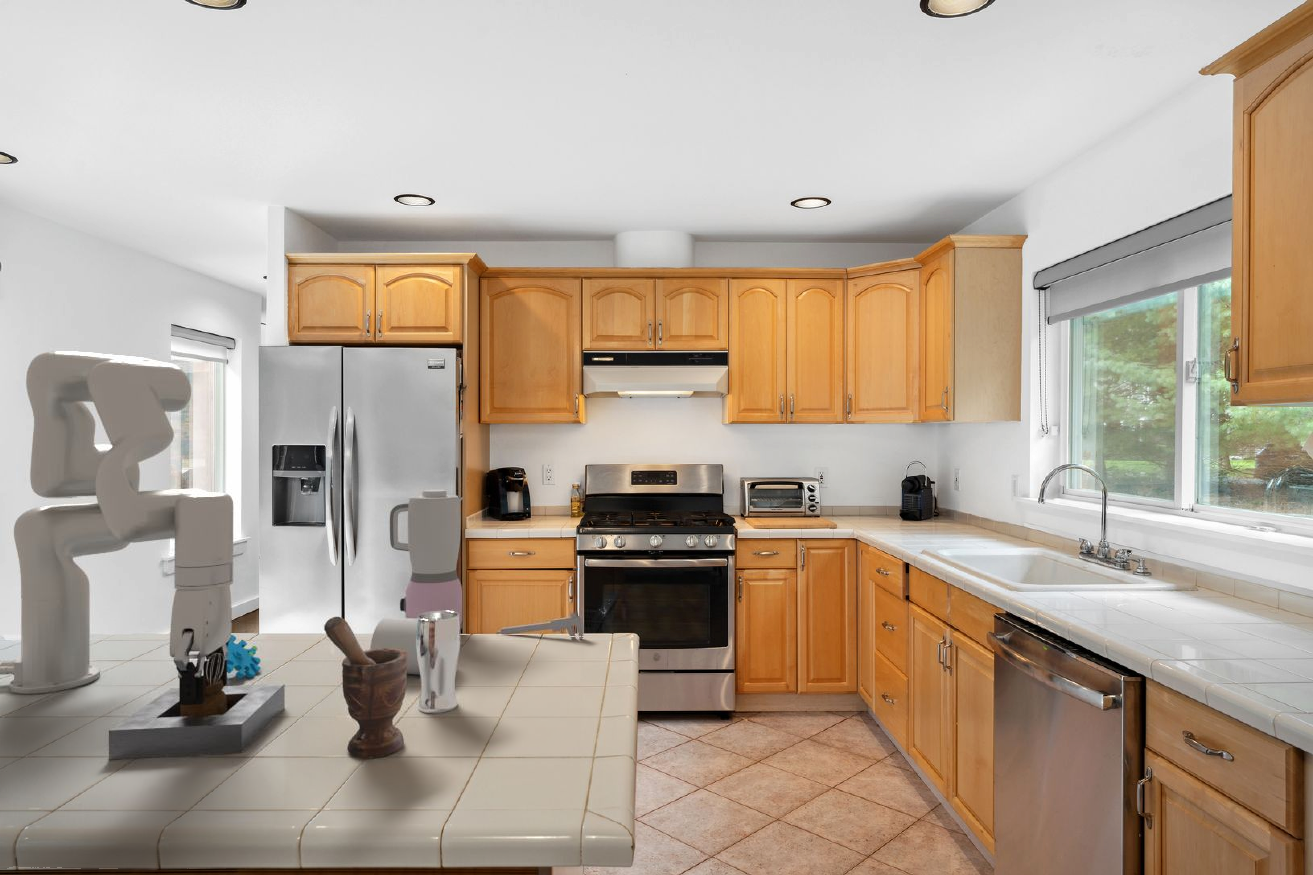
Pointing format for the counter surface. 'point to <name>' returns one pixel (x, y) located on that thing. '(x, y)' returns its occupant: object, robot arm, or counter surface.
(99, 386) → the robot arm
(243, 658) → the gear
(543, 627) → the caliper
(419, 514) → the blender
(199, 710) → the utensil holder
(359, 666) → the mortar and pestle
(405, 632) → the toilet paper
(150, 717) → the hollow square block
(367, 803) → the counter surface
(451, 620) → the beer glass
